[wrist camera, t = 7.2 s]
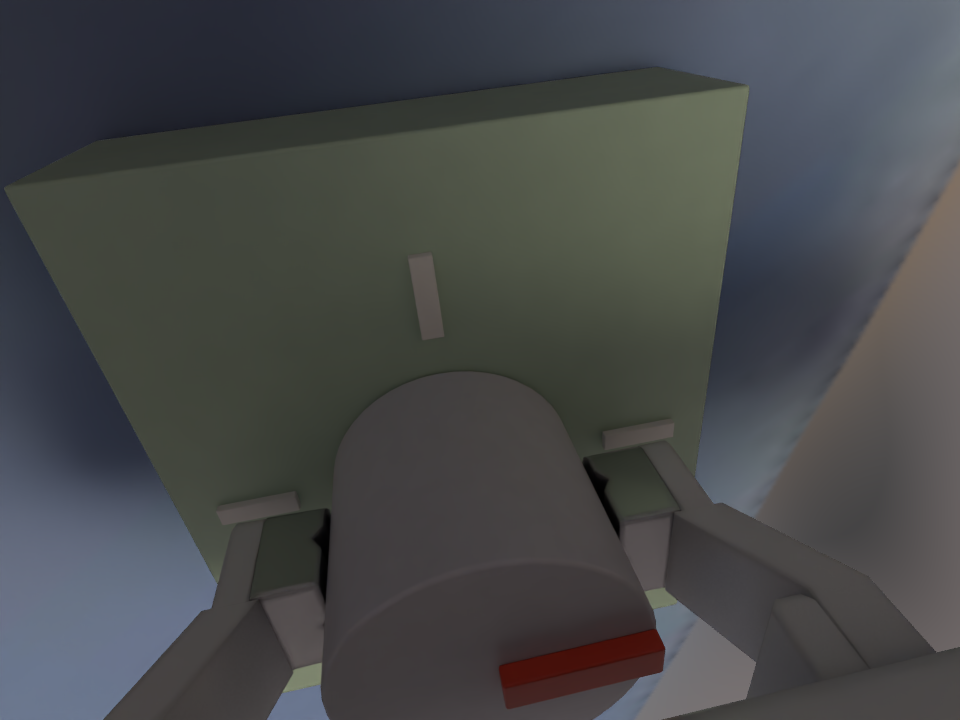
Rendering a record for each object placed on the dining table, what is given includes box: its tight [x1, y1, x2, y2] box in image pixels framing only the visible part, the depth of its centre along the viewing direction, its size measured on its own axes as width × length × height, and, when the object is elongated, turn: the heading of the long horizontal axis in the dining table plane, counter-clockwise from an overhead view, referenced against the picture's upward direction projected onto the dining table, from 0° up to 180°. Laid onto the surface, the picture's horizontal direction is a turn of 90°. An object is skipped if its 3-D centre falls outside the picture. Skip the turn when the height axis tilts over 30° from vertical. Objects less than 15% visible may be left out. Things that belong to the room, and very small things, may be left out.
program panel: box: [4, 67, 749, 693], centre depth 12 cm, size 12×10×3 cm
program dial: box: [321, 371, 665, 720], centre depth 9 cm, size 4×4×4 cm
